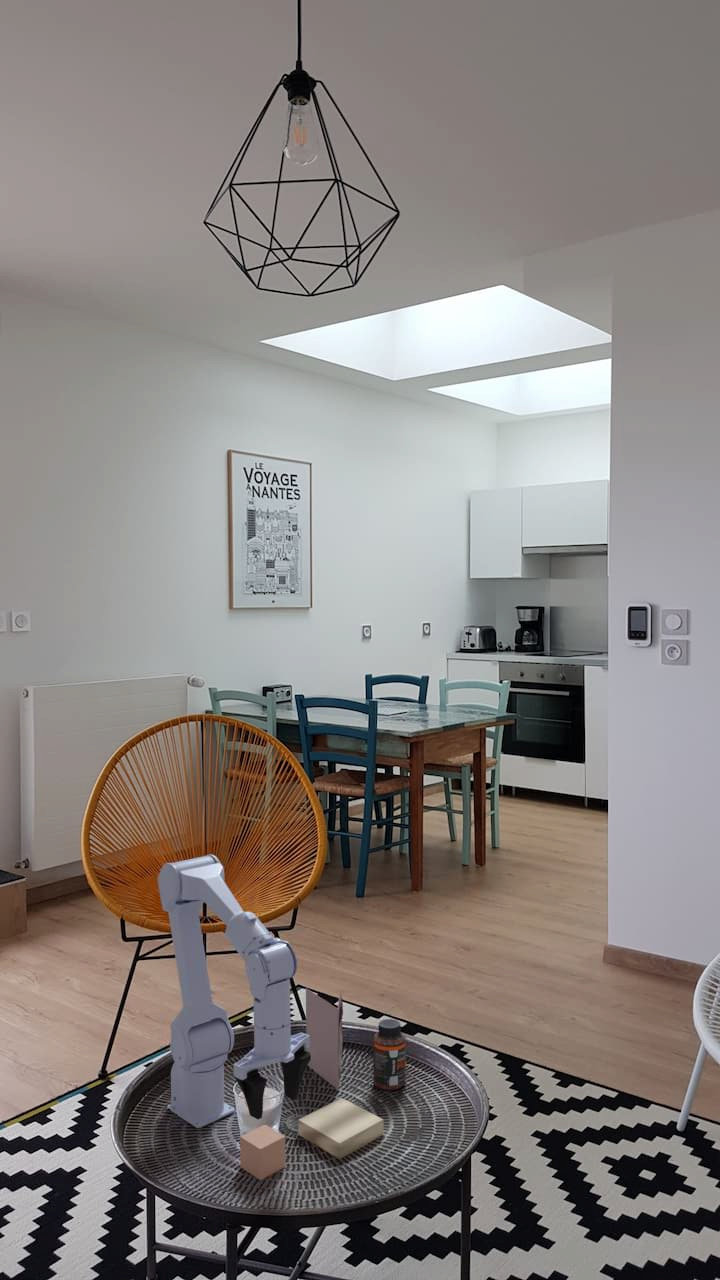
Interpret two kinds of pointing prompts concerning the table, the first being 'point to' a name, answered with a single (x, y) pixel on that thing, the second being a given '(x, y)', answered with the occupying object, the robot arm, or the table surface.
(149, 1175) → the table surface
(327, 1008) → the greeting card
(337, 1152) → the birch block
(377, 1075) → the supplement bottle
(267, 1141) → the terracotta cube
